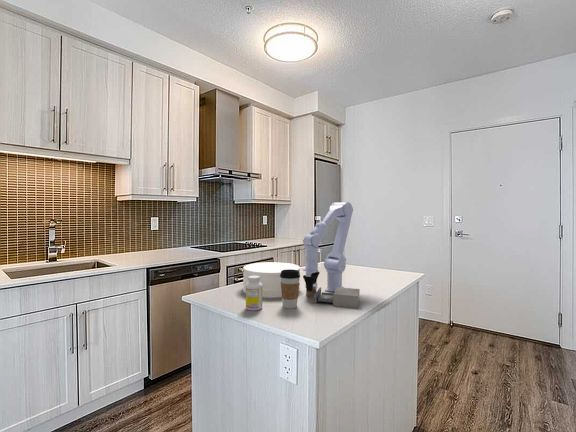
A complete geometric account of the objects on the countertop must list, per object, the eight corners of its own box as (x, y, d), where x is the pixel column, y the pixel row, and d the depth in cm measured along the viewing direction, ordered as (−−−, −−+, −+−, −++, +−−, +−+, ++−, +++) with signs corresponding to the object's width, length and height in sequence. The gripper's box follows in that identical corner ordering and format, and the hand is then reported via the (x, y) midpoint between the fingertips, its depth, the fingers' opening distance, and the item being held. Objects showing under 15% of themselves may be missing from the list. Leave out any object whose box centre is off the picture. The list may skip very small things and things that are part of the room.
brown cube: (308, 293, 148) (308, 286, 148) (316, 294, 147) (316, 287, 147) (306, 295, 144) (306, 288, 144) (314, 296, 143) (314, 289, 143)
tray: (318, 296, 144) (318, 287, 144) (341, 298, 141) (341, 289, 141) (313, 303, 133) (313, 293, 133) (337, 305, 130) (337, 296, 130)
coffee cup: (282, 310, 124) (282, 272, 123) (277, 303, 132) (277, 268, 131) (302, 308, 126) (303, 271, 125) (296, 302, 134) (296, 267, 134)
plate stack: (275, 301, 136) (275, 275, 135) (231, 291, 153) (231, 267, 152) (310, 288, 158) (310, 266, 158) (268, 280, 175) (268, 260, 175)
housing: (336, 297, 142) (337, 287, 142) (359, 299, 139) (359, 289, 139) (333, 305, 130) (333, 294, 130) (357, 307, 127) (357, 296, 127)
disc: (306, 285, 149) (307, 281, 149) (318, 286, 147) (318, 282, 147) (304, 288, 144) (304, 284, 144) (316, 289, 142) (316, 285, 142)
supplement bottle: (254, 304, 130) (254, 274, 130) (265, 308, 126) (265, 276, 126) (242, 308, 125) (242, 276, 125) (253, 312, 121) (254, 279, 121)
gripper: (306, 257, 153) (306, 284, 154) (299, 261, 139) (299, 292, 140) (320, 257, 151) (320, 285, 152) (315, 262, 137) (314, 293, 138)
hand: (311, 288), depth 145 cm, fingers open, 7 cm apart
